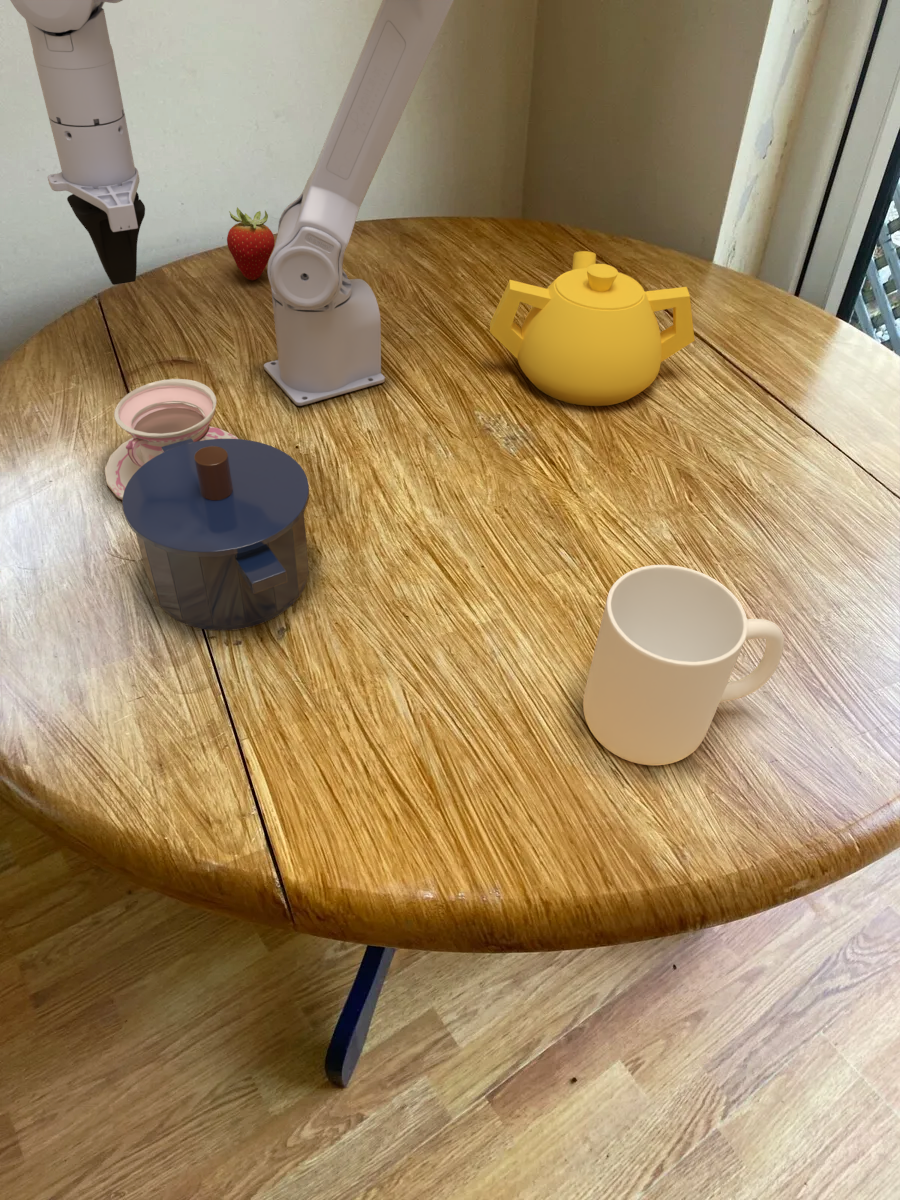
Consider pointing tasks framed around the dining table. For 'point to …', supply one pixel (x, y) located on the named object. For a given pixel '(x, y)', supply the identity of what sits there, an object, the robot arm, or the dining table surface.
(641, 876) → the dining table surface
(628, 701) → the cup
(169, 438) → the teacup
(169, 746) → the dining table surface
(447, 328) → the dining table surface
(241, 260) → the fruit
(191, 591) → the pot
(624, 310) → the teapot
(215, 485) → the pot lid
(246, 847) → the dining table surface
